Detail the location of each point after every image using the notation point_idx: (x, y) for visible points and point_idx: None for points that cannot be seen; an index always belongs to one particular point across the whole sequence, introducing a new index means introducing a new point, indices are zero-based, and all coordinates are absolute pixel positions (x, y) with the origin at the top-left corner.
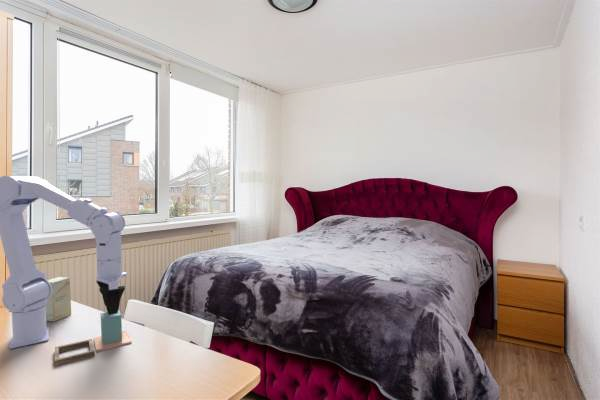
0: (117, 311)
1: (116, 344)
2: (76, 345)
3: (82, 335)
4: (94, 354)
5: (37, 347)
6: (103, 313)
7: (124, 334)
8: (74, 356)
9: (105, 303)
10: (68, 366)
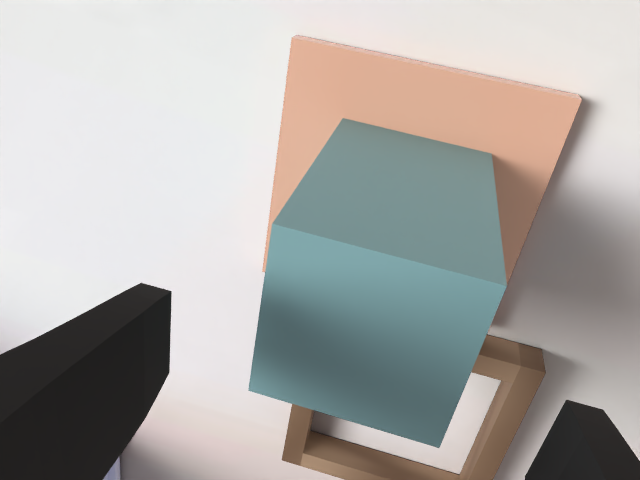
0: (617, 434)
1: (525, 211)
2: None
3: (142, 281)
4: (542, 357)
5: (169, 455)
6: (278, 378)
7: (373, 88)
8: (505, 453)
9: (152, 393)
10: None
